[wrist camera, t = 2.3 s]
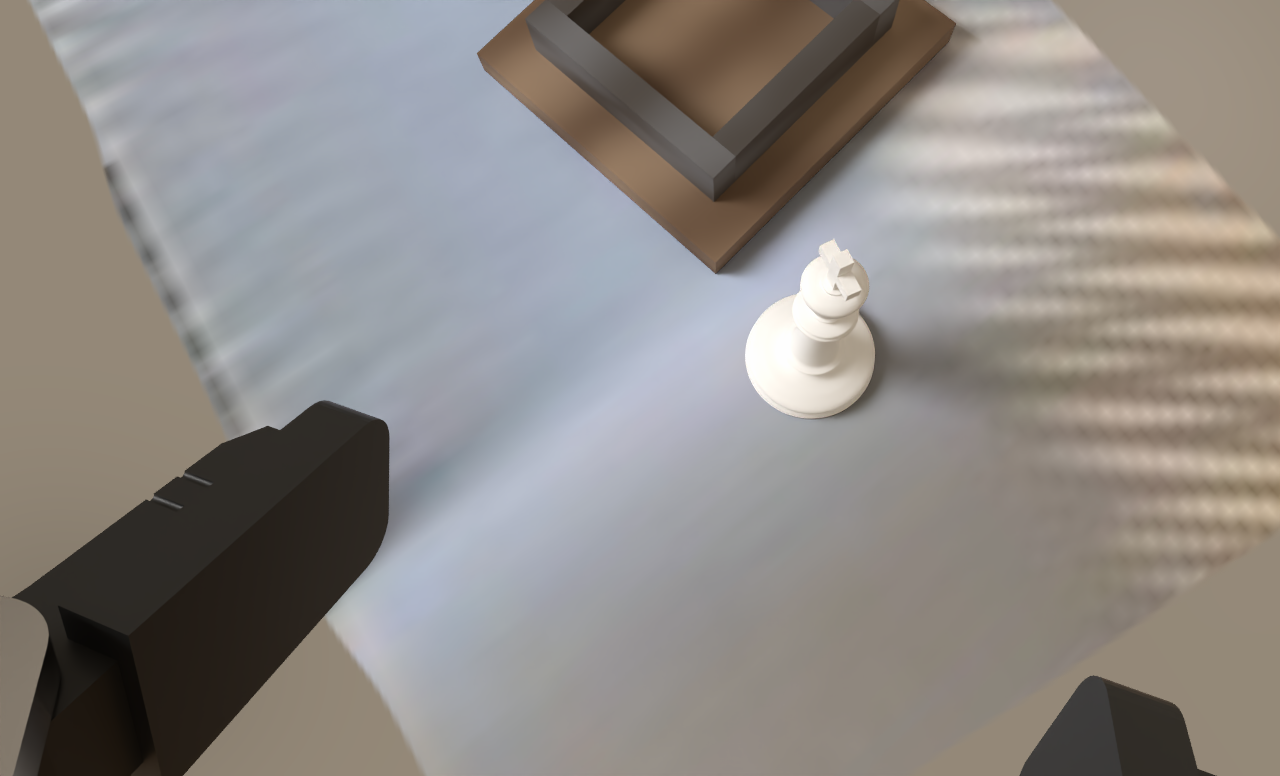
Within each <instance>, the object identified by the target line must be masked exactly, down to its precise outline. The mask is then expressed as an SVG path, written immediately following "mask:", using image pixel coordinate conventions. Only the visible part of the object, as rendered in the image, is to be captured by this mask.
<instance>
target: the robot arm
mask: <svg viewBox="0 0 1280 776" xmlns="http://www.w3.org/2000/svg"><path fill="white" fill-rule="evenodd" d="M388 516H389V430H388V426H387V424H386V423H385V422H384V421H383V420H381V419H378V418H375V417H372V416H370V415H367V414H364V413H361V412H358V411H355V410H353V409H350V408H347V407H344V406H341V405H339V404H336V403H333V402H330V401H325V400H324V401H319V402H317V403H315V404H313V405H312V406H310V407H309V408H308V409H307V410H305V411H304V412H303V413H301V414H300V415H299V416H298V417H296V418H295V419H294V420H293V421H291V422H290V423H289V424H287V425H286V426H285V427H284V428H282V429H281V430H278V429H275V428H272V427H270V426H266V427H264V428H261V429H259V430H256V431H253V432H251V433H248V434H246V435H243V436H240V437H238V438H235V439H232V440H230V441H227V442H225V443H222V444H220V445H219V446H218V447H216V448H215V449H214V450H212V451H211V452H210V453H208V454H207V455H205V456H204V457H203V458H201V459H200V460H199V461H197V462H196V463H195V464H193V465H192V466H191V467H189V468H188V469H187V470H185V473H184V475H183V477H181V478H180V477H176V478H175V479H173V480H172V481H171V482H169V483H168V484H166V485H165V486H164V487H162V488H161V489H160V490H158V491H157V492H156V493H154V497H153V499H152V500H151V501H148V500H145V501H144V502H142V503H141V504H140V505H138V506H137V507H135V508H134V509H133V510H131V511H130V512H129V513H127V514H126V515H125V516H123V517H122V518H121V519H119V520H118V521H117V522H115V523H114V524H113V525H111V526H110V527H109V528H107V529H106V530H104V531H103V532H102V533H100V534H99V535H98V536H96V537H95V538H94V539H92V540H91V541H90V542H88V543H87V544H86V545H84V546H83V547H82V548H80V549H79V550H77V551H76V552H75V553H74V554H72V555H71V556H70V557H68V558H67V559H65V560H64V561H63V562H61V563H60V564H59V565H57V566H56V567H55V568H53V569H52V570H51V571H49V572H48V573H46V574H45V575H44V576H42V577H41V578H40V579H38V580H37V581H36V582H34V583H33V584H32V585H31V586H29V587H28V588H26V589H24V590H23V591H21V592H20V593H18V594H17V595H15V596H14V597H12V598H10V597H4V596H0V776H183V775H184V774H185V773H186V772H187V771H188V769H189V768H190V767H191V766H192V765H193V764H194V763H195V761H196V760H197V759H198V758H199V757H200V756H201V754H203V752H204V751H205V750H206V749H207V748H208V747H209V746H210V744H211V743H212V742H213V741H214V740H215V739H216V738H217V737H218V735H219V734H220V733H221V732H222V731H223V730H224V729H225V727H226V726H227V725H228V724H229V723H230V722H231V721H232V720H233V718H234V717H235V716H236V715H237V714H238V713H239V712H240V711H241V709H242V708H243V707H244V706H245V705H246V704H247V703H248V702H249V700H250V699H251V698H252V697H253V696H254V695H255V694H256V692H257V691H258V690H259V689H260V688H261V687H262V686H263V684H264V683H265V682H266V681H267V680H268V679H269V678H270V677H271V675H272V674H273V673H274V672H275V671H276V670H277V669H278V667H279V666H280V665H281V664H282V663H283V662H284V661H285V659H286V658H287V657H288V656H289V655H290V654H291V653H292V652H293V651H294V649H295V648H296V647H297V646H298V645H299V644H300V643H301V642H302V640H303V639H304V638H305V637H306V636H307V635H308V634H309V633H310V631H311V630H312V629H313V628H314V627H315V626H316V625H317V623H318V622H319V621H320V620H321V619H322V618H323V617H324V616H325V614H326V613H327V612H328V611H329V610H330V609H331V608H332V607H333V605H334V604H335V603H336V602H337V601H338V600H339V599H340V597H341V596H342V595H343V594H344V593H345V592H346V591H347V590H348V588H349V587H350V586H351V585H352V584H353V583H354V582H355V581H356V579H357V578H358V577H359V576H360V575H361V574H362V573H363V571H364V570H365V569H366V568H367V567H368V566H369V564H370V563H371V561H372V560H373V558H374V557H375V555H376V553H377V552H378V550H379V548H380V546H381V543H382V541H383V538H384V535H385V532H386V528H387V524H388ZM1020 776H1215V775H1213V774H1210V773H1207V772H1204V771H1202V770H1199V769H1197V766H1196V761H1195V758H1194V754H1193V750H1192V747H1191V743H1190V739H1189V736H1188V732H1187V728H1186V724H1185V721H1184V718H1183V715H1182V713H1181V711H1180V710H1179V708H1178V707H1177V706H1176V705H1175V704H1173V703H1171V702H1169V701H1166V700H1163V699H1160V698H1157V697H1154V696H1151V695H1149V694H1146V693H1143V692H1140V691H1138V690H1135V689H1131V688H1129V687H1126V686H1124V685H1121V684H1118V683H1115V682H1112V681H1109V680H1107V679H1104V678H1101V677H1098V676H1090V677H1088V678H1086V679H1085V680H1084V681H1083V682H1082V683H1081V684H1080V685H1079V686H1078V688H1077V689H1076V691H1075V692H1074V693H1073V695H1072V696H1071V698H1070V699H1069V701H1068V702H1067V703H1066V705H1065V706H1064V708H1063V709H1062V711H1061V712H1060V713H1059V715H1058V716H1057V718H1056V719H1055V721H1054V722H1053V723H1052V725H1051V726H1050V728H1049V729H1048V731H1047V732H1046V733H1045V735H1044V736H1043V738H1042V739H1041V741H1040V742H1039V743H1038V745H1037V746H1036V748H1035V749H1034V751H1033V752H1032V753H1031V755H1030V756H1029V758H1028V759H1027V761H1026V762H1025V764H1024V766H1023V769H1022V771H1021V774H1020Z"/></svg>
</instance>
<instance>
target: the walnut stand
mask: <svg viewBox="0 0 1280 776" xmlns="http://www.w3.org/2000/svg"><path fill="white" fill-rule="evenodd" d="M955 25H956V23H955V22H954V21H952V20H951V19H949V18H948V17H947V16H945V15H944V14H943V13H941V12H940V11H938V10H937V9H936V8H934V7H933V6H931V5H930V4H929V3H927V2H926V1H925V0H534V1H533V2H532V3H531V4H530V5H529V6H528V7H526V8H525V9H524V10H523V11H522V12H521V13H520V14H519V15H518V16H517V17H516V18H515V19H513V20H512V21H511V22H510V23H509V24H508V25H507V26H506V27H505V28H504V29H503V30H502V31H500V32H499V33H498V34H497V35H496V36H495V37H494V38H493V39H492V40H491V41H490V42H489V43H487V44H486V45H485V46H484V47H483V48H482V49H481V50H480V51H479V52H478V53H477V55H478V57H479V59H480V61H481V63H482V66H483V68H484V70H485V71H486V72H487V73H489V74H490V75H491V76H492V77H493V78H494V79H495V80H496V81H498V82H499V83H500V84H501V85H502V86H503V87H504V88H506V89H507V90H508V91H509V92H510V93H511V94H512V95H513V96H515V97H516V98H517V99H518V100H519V101H520V102H521V103H523V104H524V105H525V106H526V107H527V108H528V109H529V110H530V111H532V112H533V113H534V114H535V115H536V116H537V117H538V118H540V119H541V120H542V121H543V122H544V123H545V124H546V125H547V126H549V127H550V128H551V129H552V130H553V131H554V132H555V133H557V134H558V135H559V136H560V137H561V138H562V139H563V140H564V141H566V142H567V143H568V144H569V145H570V146H571V147H572V148H574V149H575V150H576V151H577V152H578V153H579V154H580V155H582V156H583V157H584V158H585V159H586V160H587V161H588V162H589V163H591V164H592V165H593V166H594V167H595V168H596V169H597V170H599V171H600V172H601V173H602V174H603V175H604V176H605V177H606V178H608V179H609V180H610V181H611V182H612V183H613V184H614V185H616V186H617V187H618V188H619V189H620V190H621V191H622V192H623V193H625V194H626V195H627V196H628V197H629V198H630V199H631V200H633V201H634V202H635V203H636V204H637V205H638V206H639V207H640V208H642V209H643V210H644V211H645V212H646V213H647V214H648V215H650V216H651V217H652V218H653V219H654V220H655V221H656V222H657V223H659V224H660V225H661V226H662V227H663V228H664V229H665V230H667V231H668V232H669V233H670V234H671V235H672V236H673V237H675V238H676V239H677V240H678V241H679V242H680V243H681V244H682V245H684V246H685V247H686V248H687V249H688V250H689V251H690V252H692V253H693V254H694V255H695V256H696V257H697V258H698V259H699V260H701V261H702V262H703V263H704V264H705V265H706V266H707V267H709V268H710V269H711V270H712V271H713V272H714V273H715V274H716V273H717V272H718V271H719V270H720V269H721V268H722V267H723V266H724V265H725V264H726V263H727V262H728V261H729V260H730V259H731V258H732V257H733V256H734V255H735V254H736V253H737V252H738V251H739V250H740V249H741V248H742V247H743V246H744V245H745V244H746V243H747V242H748V241H749V240H750V239H751V238H752V237H753V236H754V235H755V234H756V233H757V232H758V231H759V230H760V229H761V228H762V227H763V226H764V225H765V224H766V223H767V222H768V221H769V220H770V219H771V218H772V217H773V216H774V215H775V214H776V213H777V212H778V211H779V210H780V209H781V208H782V207H783V206H784V205H785V204H786V203H787V202H788V201H789V200H790V199H791V198H792V197H793V196H794V195H795V194H796V193H797V192H798V191H799V190H800V189H801V188H802V187H803V186H805V185H806V184H807V183H808V182H809V181H810V180H811V179H812V178H813V177H814V176H815V175H816V174H817V173H818V172H819V171H820V170H821V169H822V168H823V167H824V166H825V165H826V164H827V163H828V162H829V161H830V160H831V159H832V158H833V157H834V156H835V155H836V154H837V153H838V152H839V151H840V150H841V149H842V148H843V147H844V146H845V145H846V144H847V143H848V142H849V141H850V140H851V139H852V138H853V137H854V136H855V135H856V134H857V133H858V132H859V131H860V130H861V129H862V128H863V127H864V126H865V125H866V124H867V123H868V122H869V121H870V120H871V119H872V118H873V117H874V116H875V115H876V114H877V113H878V112H879V111H880V110H881V109H882V108H883V107H884V106H885V105H886V104H887V103H888V102H889V101H890V100H891V99H892V98H893V97H894V96H895V95H896V94H897V93H898V92H899V91H900V90H901V89H902V88H903V87H904V86H905V85H906V84H907V83H908V82H909V81H910V80H911V79H912V78H913V77H914V76H915V75H916V74H917V73H918V72H919V71H920V70H921V69H922V68H923V67H924V66H925V65H926V64H927V63H928V62H929V61H930V60H931V59H932V58H933V57H934V56H935V55H936V54H937V53H938V52H939V51H940V50H941V49H942V48H943V47H944V46H945V45H946V44H947V43H948V42H949V40H950V37H951V35H952V32H953V30H954V27H955Z"/></svg>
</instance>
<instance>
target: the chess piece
mask: <svg viewBox="0 0 1280 776" xmlns="http://www.w3.org/2000/svg"><path fill="white" fill-rule="evenodd" d="M819 253H820V255H821V256H820V257H818V258H816V259H814V260H813V261H812V262H811V263H810V264H809V265H808V266H807V267H806V269H805V270H804V272H803V274H802V277H801V283H800V288H801V290H800V291H799V292H798V294H795V295H791V296H788V297H786V298H783V299H781V300H779V301H777V302H776V303H774V304H773V305H771V306H770V307H769V308H768V309H767V310H766V311H765V312H764V313H763V314H762V315H761V316H760V317H759V319H758V320H757V322H756V323H755V325H754V326H753V328H752V330H751V332H750V334H749V337H748V340H747V344H746V352H745V360H746V368H747V372H748V375H749V378H750V380H751V382H752V384H753V386H754V388H755V389H756V391H757V392H758V393H759V395H760V396H761V397H762V398H763V399H764V400H765V401H766V402H767V403H768V404H770V405H771V406H772V407H774V408H776V409H777V410H779V411H781V412H783V413H785V414H788V415H791V416H795V417H799V418H808V419H814V418H823V417H828V416H831V415H834V414H837V413H839V412H841V411H843V410H845V409H846V408H848V407H849V406H851V405H852V404H853V403H854V402H856V401H857V400H858V399H859V397H860V396H861V395H862V394H863V393H864V391H865V390H866V388H867V386H868V384H869V382H870V380H871V377H872V374H873V370H874V362H875V347H874V341H873V338H872V335H871V332H870V330H869V328H868V326H867V324H866V322H865V321H864V319H863V318H862V317H861V316H860V315H859V308H860V307H861V306H862V305H863V304H864V302H865V300H866V298H867V296H868V292H869V280H868V276H867V274H866V271H865V270H864V268H863V267H862V266H861V265H860V263H858V262H857V261H856V260H855V259H853V258H852V257H851V255H850V253H849V251H848V250H847V249H846V250H844V251H842V252H841V251H840V249H839V247H838V246H837V244H836V242H835V240H834V239H833V240H831V241H829V242H827V243H825V244H822V245H820V248H819Z"/></svg>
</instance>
